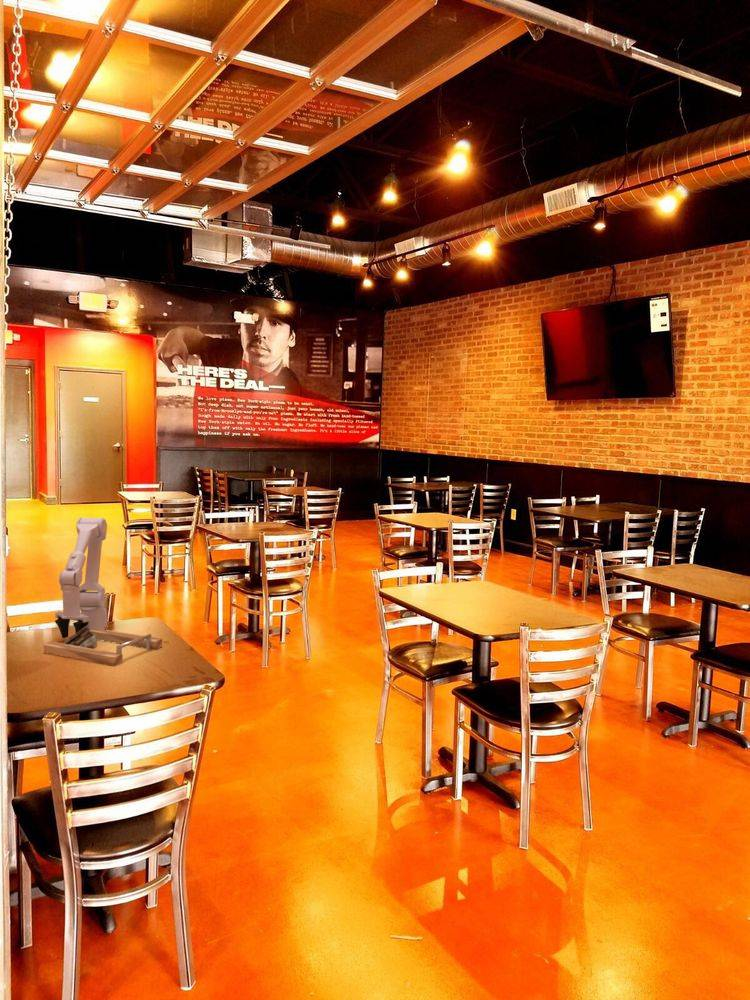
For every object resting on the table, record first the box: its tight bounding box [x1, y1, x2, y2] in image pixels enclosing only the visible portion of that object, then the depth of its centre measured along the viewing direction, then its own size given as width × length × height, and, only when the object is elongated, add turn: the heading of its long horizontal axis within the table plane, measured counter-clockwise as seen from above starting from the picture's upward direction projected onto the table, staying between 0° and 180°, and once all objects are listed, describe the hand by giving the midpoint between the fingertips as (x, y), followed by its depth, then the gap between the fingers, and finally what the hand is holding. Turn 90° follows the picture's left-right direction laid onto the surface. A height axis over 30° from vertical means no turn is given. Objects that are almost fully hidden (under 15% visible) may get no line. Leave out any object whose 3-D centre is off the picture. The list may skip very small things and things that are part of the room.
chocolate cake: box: [62, 625, 98, 648], centre depth 267 cm, size 10×7×12 cm
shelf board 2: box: [90, 628, 163, 651], centre depth 273 cm, size 4×32×3 cm, turn 66°
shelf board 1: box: [43, 641, 124, 667], centre depth 255 cm, size 4×32×3 cm, turn 66°
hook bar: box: [115, 633, 152, 655], centre depth 258 cm, size 16×1×6 cm, turn 156°
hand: (72, 638), depth 272 cm, fingers open, 7 cm apart
